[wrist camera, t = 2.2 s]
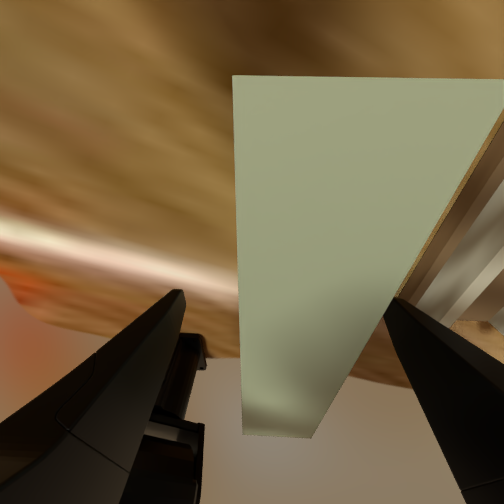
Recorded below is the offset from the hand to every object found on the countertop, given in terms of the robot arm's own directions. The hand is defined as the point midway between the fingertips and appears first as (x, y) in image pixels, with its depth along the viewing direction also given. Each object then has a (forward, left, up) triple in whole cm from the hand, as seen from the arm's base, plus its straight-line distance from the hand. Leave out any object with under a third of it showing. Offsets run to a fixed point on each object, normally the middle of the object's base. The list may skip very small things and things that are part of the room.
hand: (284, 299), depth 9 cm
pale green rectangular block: (0, 0, -6) cm, 6 cm away
